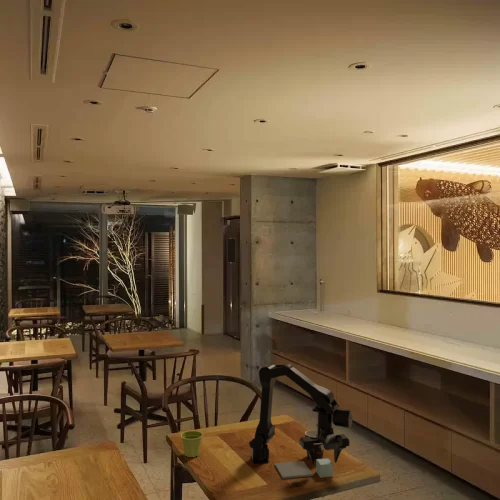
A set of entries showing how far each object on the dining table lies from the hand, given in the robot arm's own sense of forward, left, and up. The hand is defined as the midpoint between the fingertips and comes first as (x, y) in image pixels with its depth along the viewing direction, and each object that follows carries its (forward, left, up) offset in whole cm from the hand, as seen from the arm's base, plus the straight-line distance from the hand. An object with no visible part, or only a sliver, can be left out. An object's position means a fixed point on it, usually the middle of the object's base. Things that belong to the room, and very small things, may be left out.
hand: (324, 463), depth 201 cm
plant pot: (-49, +27, -4) cm, 56 cm away
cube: (0, 0, -4) cm, 4 cm away
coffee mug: (+3, +16, -4) cm, 17 cm away
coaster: (-11, +5, -4) cm, 13 cm away
